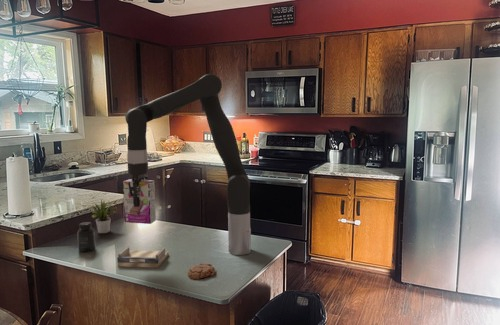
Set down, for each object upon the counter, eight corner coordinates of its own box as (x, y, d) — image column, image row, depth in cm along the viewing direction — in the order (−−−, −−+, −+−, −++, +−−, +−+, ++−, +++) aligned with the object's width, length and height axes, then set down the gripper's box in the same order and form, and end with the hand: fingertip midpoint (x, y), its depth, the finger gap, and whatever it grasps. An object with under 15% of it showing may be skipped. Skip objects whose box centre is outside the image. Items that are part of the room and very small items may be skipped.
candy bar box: (123, 222, 147) (122, 181, 145) (130, 219, 152) (128, 178, 150) (150, 224, 145) (149, 182, 143) (156, 220, 150) (155, 179, 148)
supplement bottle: (99, 248, 166) (97, 222, 165) (86, 254, 160) (84, 226, 159) (87, 246, 169) (86, 220, 168) (74, 251, 163) (72, 224, 161)
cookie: (181, 277, 137) (181, 269, 137) (197, 266, 147) (197, 259, 146) (205, 282, 133) (205, 274, 133) (220, 271, 143) (220, 263, 142)
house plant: (102, 238, 179) (99, 204, 177) (81, 234, 185) (78, 202, 183) (123, 230, 192) (122, 198, 190) (103, 226, 198) (101, 196, 196)
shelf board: (168, 254, 158) (168, 244, 158) (157, 267, 145) (157, 256, 145) (131, 253, 160) (130, 243, 159) (117, 266, 147) (116, 255, 146)
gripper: (135, 159, 153) (137, 200, 155) (120, 163, 139) (122, 209, 141) (153, 159, 152) (155, 200, 154) (140, 164, 138) (141, 209, 140)
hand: (139, 204), depth 148 cm, fingers closed on candy bar box, 5 cm apart
